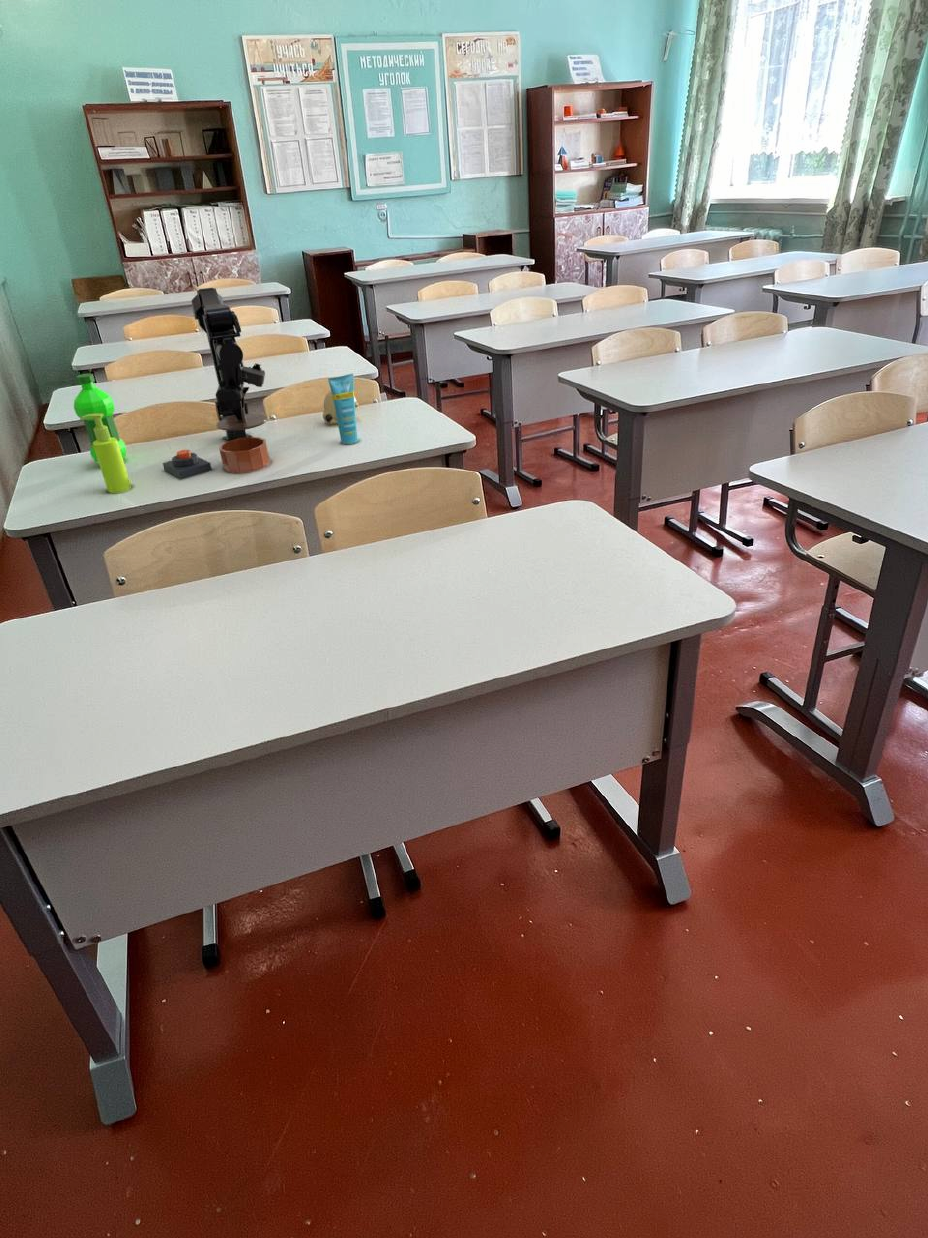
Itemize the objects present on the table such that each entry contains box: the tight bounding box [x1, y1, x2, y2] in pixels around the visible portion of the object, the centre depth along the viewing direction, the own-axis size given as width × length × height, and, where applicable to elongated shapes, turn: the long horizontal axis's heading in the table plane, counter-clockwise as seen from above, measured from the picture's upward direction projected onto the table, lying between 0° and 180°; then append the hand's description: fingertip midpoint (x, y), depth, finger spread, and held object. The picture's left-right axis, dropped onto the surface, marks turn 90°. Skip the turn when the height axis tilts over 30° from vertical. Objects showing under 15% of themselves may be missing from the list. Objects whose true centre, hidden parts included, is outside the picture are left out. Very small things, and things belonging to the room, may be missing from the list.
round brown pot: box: [219, 436, 271, 474], centre depth 209 cm, size 12×12×6 cm
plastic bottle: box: [73, 373, 127, 464], centre depth 214 cm, size 10×10×25 cm
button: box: [176, 449, 192, 459], centre depth 208 cm, size 4×4×2 cm
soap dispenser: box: [79, 414, 132, 494], centre depth 196 cm, size 6×7×20 cm
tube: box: [327, 373, 359, 445], centre depth 218 cm, size 7×5×19 cm, turn 123°
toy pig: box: [322, 389, 359, 426], centre depth 238 cm, size 10×12×11 cm
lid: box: [216, 407, 268, 432], centre depth 205 cm, size 13×13×4 cm
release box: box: [162, 452, 213, 480], centre depth 209 cm, size 11×9×4 cm
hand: (241, 418), depth 206 cm, fingers closed on lid, 3 cm apart
